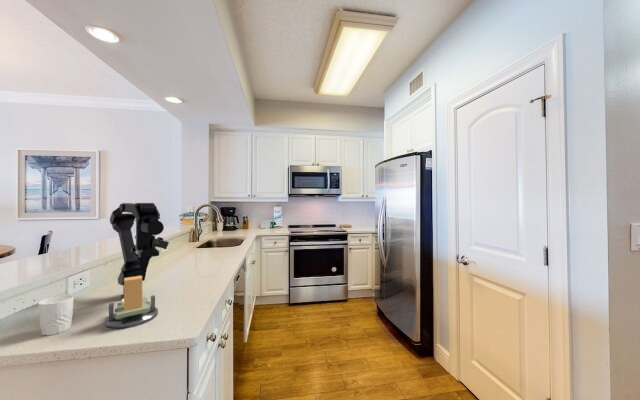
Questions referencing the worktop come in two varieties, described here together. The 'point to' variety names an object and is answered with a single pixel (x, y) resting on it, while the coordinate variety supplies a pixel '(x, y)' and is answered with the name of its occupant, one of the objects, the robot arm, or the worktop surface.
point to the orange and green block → (132, 298)
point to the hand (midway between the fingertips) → (144, 271)
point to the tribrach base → (130, 317)
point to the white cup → (55, 314)
